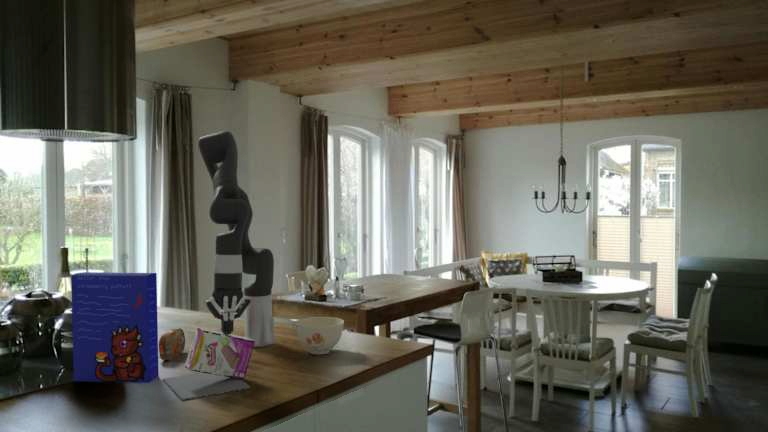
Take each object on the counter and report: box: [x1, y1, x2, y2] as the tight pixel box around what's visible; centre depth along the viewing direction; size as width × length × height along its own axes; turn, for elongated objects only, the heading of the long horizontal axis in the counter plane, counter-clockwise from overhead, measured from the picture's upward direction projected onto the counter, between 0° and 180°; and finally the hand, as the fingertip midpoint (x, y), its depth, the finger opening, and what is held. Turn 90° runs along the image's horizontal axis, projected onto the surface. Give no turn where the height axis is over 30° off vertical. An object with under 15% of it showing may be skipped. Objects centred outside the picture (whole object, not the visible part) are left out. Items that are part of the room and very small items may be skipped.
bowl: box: [294, 316, 345, 355], centre depth 202 cm, size 16×16×10 cm
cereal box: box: [70, 271, 160, 384], centre depth 174 cm, size 22×6×30 cm, turn 84°
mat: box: [162, 372, 251, 401], centre depth 169 cm, size 18×20×1 cm
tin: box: [158, 328, 186, 361], centre depth 197 cm, size 15×3×8 cm, turn 176°
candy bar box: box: [183, 327, 255, 380], centre depth 170 cm, size 11×5×16 cm
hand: (227, 333), depth 170 cm, fingers closed
